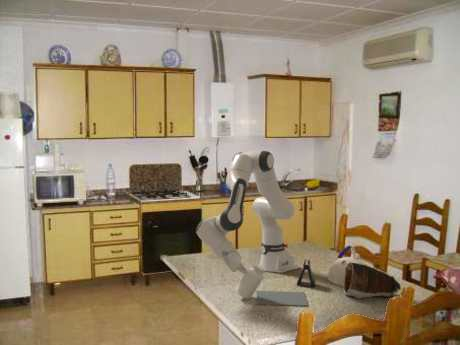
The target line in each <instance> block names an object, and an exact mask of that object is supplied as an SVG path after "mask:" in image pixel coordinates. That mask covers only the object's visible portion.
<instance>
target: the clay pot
mask: <svg viewBox="0 0 460 345" xmlns="http://www.w3.org/2000/svg"><path fill="white" fill-rule="evenodd" d="M362 264H363V263H362ZM362 264H357V263H351V262H350V263H348V264H347V266H346V268H345V278H344V286H342V291H343V294H344V295H346V296H349V297H353V298H357V299H359V300H360V299H366V298H372V297H380V296H381V297H391V296H392V295H395V294H397V293H398V292H399V291H401V290H402V287H401V284H400V283H399V281H397V280H396V279H395V277H394V276H391V275H389V274H388V273H385V272H384V271H380V270H378V269H376V268H374V267H371V266H369V265H367V264H363V265H362Z"/></svg>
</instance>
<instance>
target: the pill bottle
mask: <svg viewBox="0 0 460 345" xmlns="http://www.w3.org/2000/svg"><path fill="white" fill-rule="evenodd" d="M259 264H260V263H254V264H253V266H252V267H249V268H248V269H246V273H245V274H243V275H242V278H241V279H240V281H239V282H238V285H236V287H235V291H236V293H237V294H239V296H241V297H242V298H244V299H247V300H249V299H251V298H252V297H253V295H254V293H255V292H257V289H258V287H259V286H260V285H261V283H262V281H263V280H264V275H263V274H264V272H266V271H265V269H264V268H263V267H262V266H261V265H259Z"/></svg>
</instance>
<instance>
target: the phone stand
mask: <svg viewBox="0 0 460 345" xmlns="http://www.w3.org/2000/svg"><path fill="white" fill-rule="evenodd" d="M306 270H307V273H308V277H309V281H302V280H303V277H304V274H305V271H306ZM296 281H297V282H296V286H297V287H307V288H315V287H316V284H317V283H316V279H315V276H314V273H313V271H312V268H311V261H310V259H308V260H307V259H304V261H303V266H302V270H301V272H300V274H299V276H298V279H297V280H296Z"/></svg>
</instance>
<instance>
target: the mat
mask: <svg viewBox="0 0 460 345" xmlns="http://www.w3.org/2000/svg"><path fill="white" fill-rule="evenodd" d="M256 304H257V305H256V306H279V307H280V306H284V307H309V303H308V302H307V298H306V295H305V292H301V291H278V290H277V291H275V290H274V291H273V290H272V291H271V290H256Z"/></svg>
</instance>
